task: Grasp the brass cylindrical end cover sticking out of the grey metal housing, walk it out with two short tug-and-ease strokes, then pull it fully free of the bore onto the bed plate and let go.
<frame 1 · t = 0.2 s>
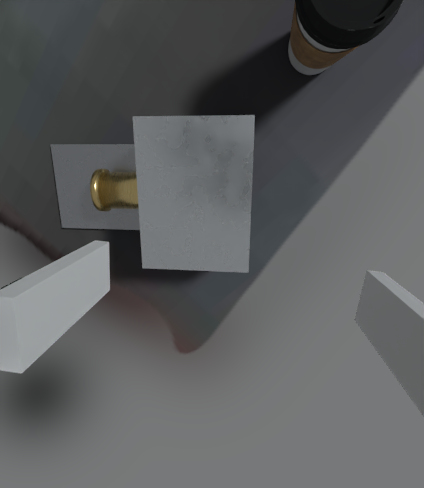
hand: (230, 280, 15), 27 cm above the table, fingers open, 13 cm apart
housing: (206, 189, 41), on the table
coffee cup: (312, 48, 35), on the table
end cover: (151, 191, 38), point 4 cm above the table, slide at 0.0 cm
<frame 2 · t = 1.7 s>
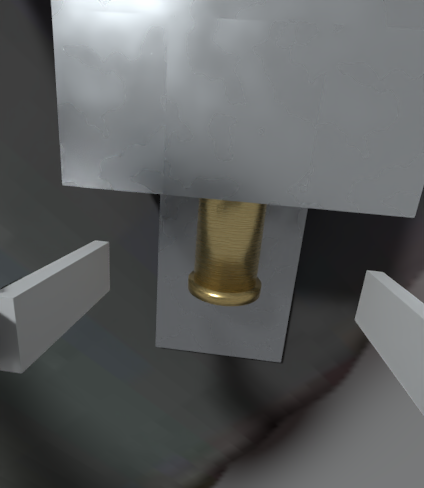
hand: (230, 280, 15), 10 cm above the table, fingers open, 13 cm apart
housing: (242, 103, 22), on the table
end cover: (232, 199, 21), point 3 cm above the table, slide at 0.0 cm
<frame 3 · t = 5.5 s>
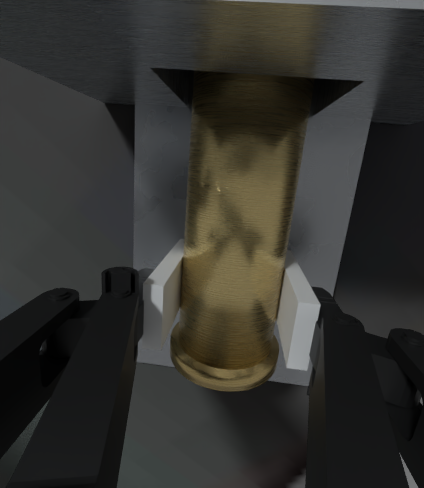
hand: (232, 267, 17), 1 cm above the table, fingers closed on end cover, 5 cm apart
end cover: (237, 223, 13), point 4 cm above the table, slide at 4.3 cm, touching gripper
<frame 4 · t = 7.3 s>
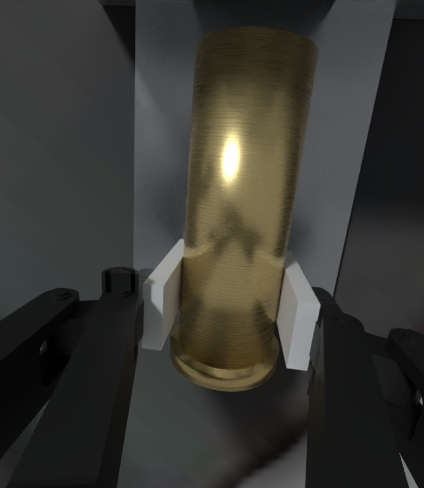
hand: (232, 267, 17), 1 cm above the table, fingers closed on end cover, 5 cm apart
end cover: (237, 223, 13), point 4 cm above the table, slide at 8.9 cm, touching gripper
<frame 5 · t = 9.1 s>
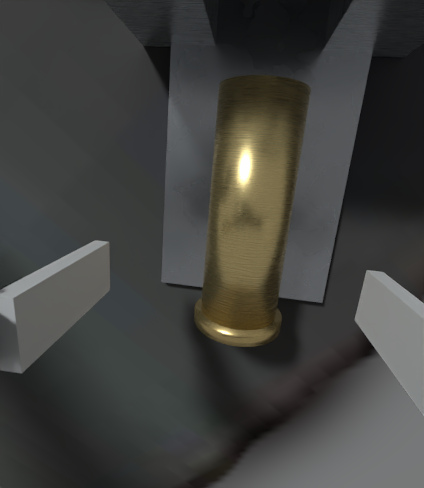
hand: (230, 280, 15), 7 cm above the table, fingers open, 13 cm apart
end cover: (248, 217, 17), point 3 cm above the table, slide at 9.0 cm
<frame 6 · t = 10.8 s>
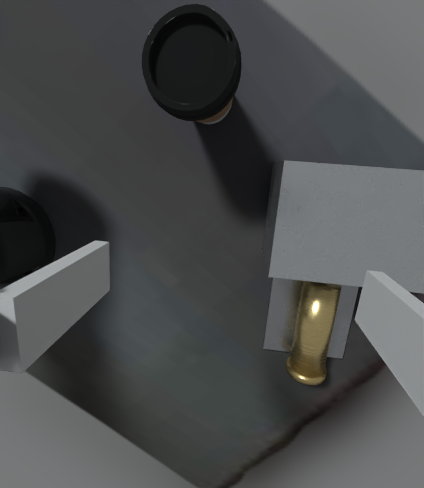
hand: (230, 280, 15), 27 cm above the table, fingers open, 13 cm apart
housing: (326, 211, 39), on the table
coffee cup: (209, 99, 37), on the table
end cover: (313, 328, 40), point 4 cm above the table, slide at 9.0 cm
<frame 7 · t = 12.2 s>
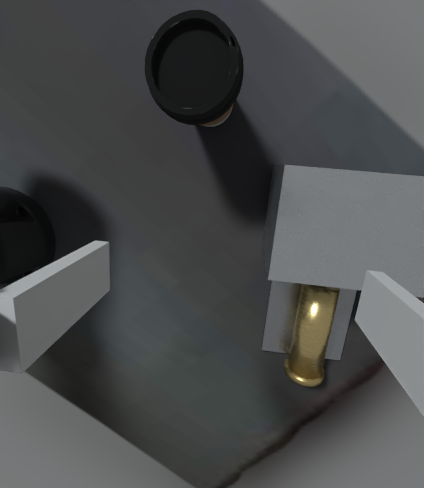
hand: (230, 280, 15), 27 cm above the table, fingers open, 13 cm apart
housing: (326, 214, 40), on the table
coffee cup: (210, 102, 37), on the table
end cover: (311, 330, 41), point 4 cm above the table, slide at 9.0 cm
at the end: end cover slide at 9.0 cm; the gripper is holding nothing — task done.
